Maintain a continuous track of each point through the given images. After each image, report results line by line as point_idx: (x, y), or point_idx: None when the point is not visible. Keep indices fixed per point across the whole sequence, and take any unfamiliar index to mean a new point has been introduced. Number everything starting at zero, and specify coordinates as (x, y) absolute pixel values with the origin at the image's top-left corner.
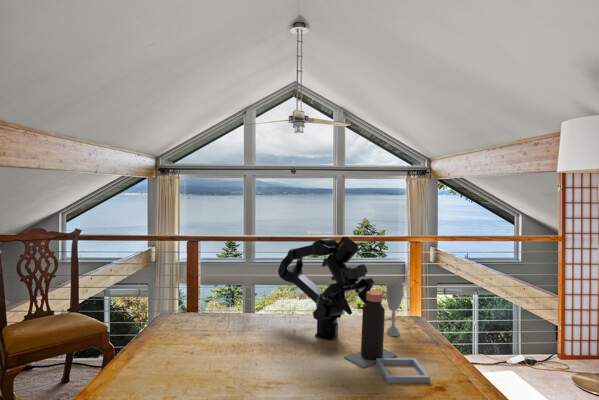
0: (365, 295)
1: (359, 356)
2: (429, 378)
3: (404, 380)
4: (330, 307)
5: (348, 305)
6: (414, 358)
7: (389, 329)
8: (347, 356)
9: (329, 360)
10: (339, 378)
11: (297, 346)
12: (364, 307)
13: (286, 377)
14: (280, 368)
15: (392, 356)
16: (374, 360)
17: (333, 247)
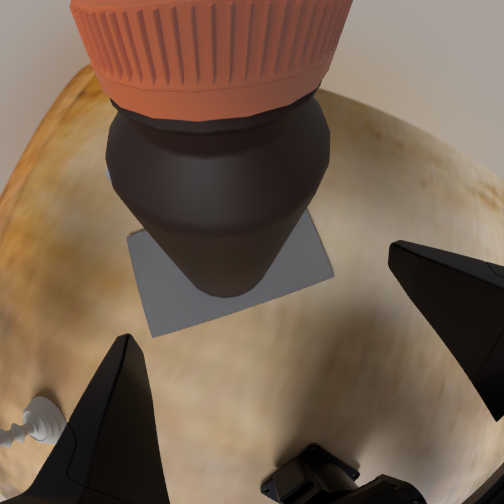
0: (119, 489)
1: (275, 263)
2: None
3: None
4: (398, 498)
5: (450, 262)
6: (108, 171)
7: (49, 424)
8: (321, 275)
9: (383, 271)
10: (380, 163)
11: (436, 393)
12: (323, 133)
13: (475, 212)
14: (485, 257)
15: None
16: None
17: None
